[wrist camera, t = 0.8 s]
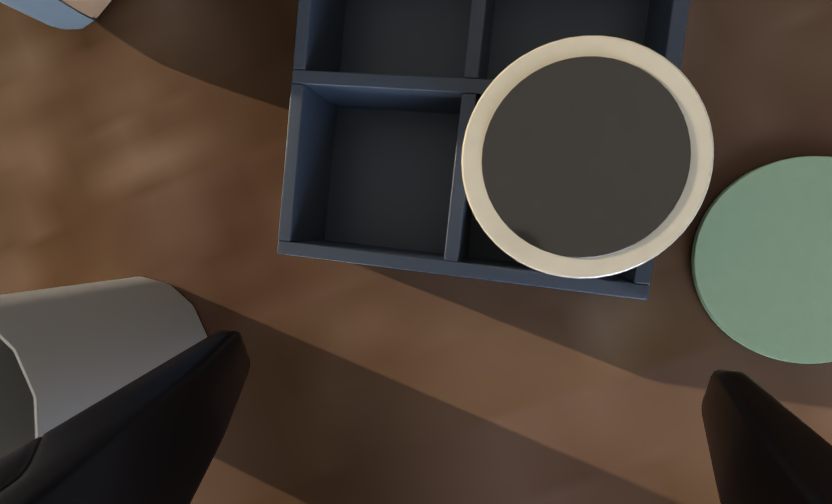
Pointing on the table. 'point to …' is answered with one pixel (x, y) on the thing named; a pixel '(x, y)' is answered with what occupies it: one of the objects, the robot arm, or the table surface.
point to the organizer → (425, 126)
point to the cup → (83, 348)
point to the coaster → (771, 260)
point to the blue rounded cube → (61, 11)
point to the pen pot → (587, 157)
